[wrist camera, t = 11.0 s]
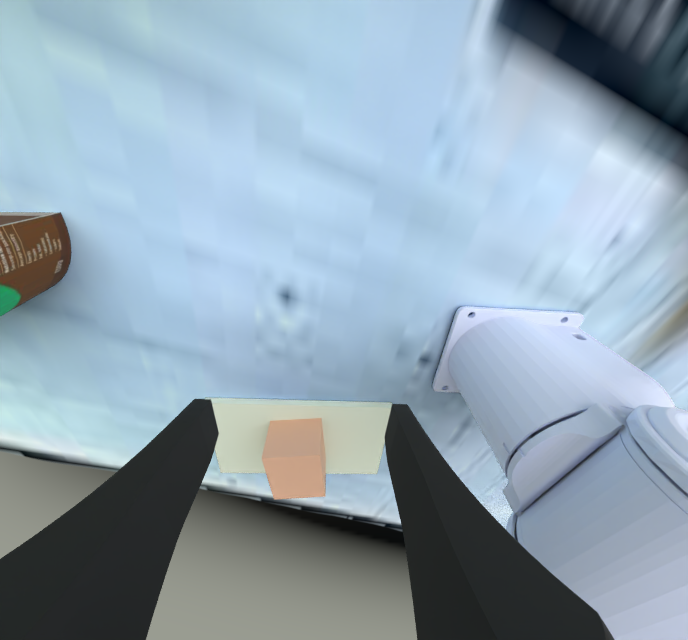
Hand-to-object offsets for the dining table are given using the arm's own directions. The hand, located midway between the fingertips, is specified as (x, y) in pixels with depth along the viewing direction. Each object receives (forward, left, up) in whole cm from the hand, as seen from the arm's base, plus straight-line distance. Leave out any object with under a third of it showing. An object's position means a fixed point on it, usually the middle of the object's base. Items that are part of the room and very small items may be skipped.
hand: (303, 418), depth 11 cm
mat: (+1, +14, -9) cm, 17 cm away
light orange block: (+1, +14, -9) cm, 16 cm away
